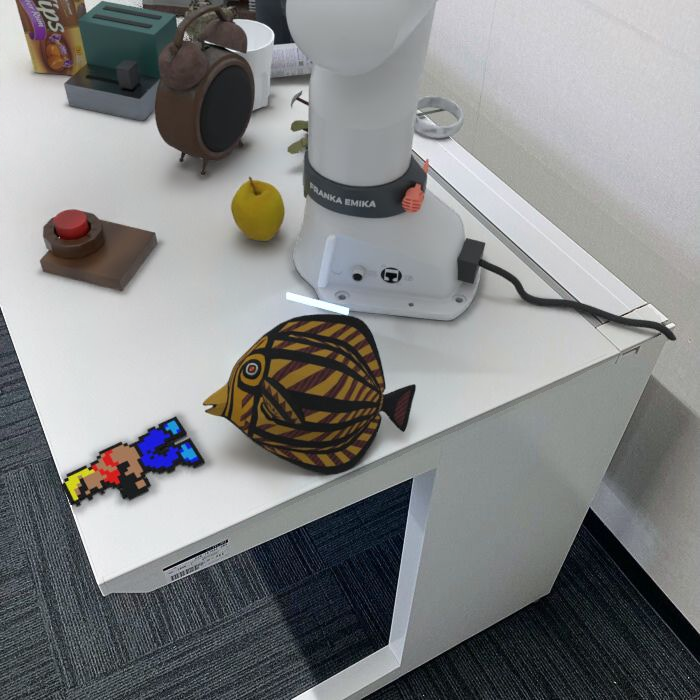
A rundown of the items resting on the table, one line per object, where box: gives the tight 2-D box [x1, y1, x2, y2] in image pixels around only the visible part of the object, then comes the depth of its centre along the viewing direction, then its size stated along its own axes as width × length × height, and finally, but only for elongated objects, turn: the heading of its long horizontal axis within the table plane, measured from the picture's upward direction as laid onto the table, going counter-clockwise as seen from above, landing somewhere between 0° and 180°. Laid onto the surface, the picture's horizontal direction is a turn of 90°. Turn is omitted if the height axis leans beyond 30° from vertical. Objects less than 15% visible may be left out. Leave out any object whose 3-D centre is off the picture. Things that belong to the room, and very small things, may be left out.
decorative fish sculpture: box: [202, 313, 417, 475], centre depth 73 cm, size 14×16×12 cm
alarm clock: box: [154, 5, 255, 177], centre depth 99 cm, size 14×7×20 cm, turn 150°
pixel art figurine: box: [60, 416, 205, 507], centre depth 71 cm, size 6×1×12 cm
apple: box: [230, 176, 286, 242], centre depth 92 cm, size 6×6×8 cm
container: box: [270, 43, 314, 79], centre depth 120 cm, size 5×5×15 cm
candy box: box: [15, 0, 88, 76], centre depth 115 cm, size 9×4×15 cm, turn 86°
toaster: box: [63, 0, 178, 122], centre depth 113 cm, size 12×14×10 cm
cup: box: [204, 19, 274, 112], centre depth 113 cm, size 10×10×10 cm
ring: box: [414, 95, 465, 139], centre depth 113 cm, size 8×8×2 cm
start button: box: [54, 208, 89, 240], centre depth 88 cm, size 4×4×2 cm
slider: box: [116, 59, 140, 89], centre depth 110 cm, size 2×3×3 cm
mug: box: [255, 0, 295, 45], centre depth 122 cm, size 12×9×11 cm
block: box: [39, 210, 158, 292], centre depth 90 cm, size 11×9×4 cm
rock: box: [183, 0, 238, 41], centre depth 129 cm, size 6×9×10 cm
